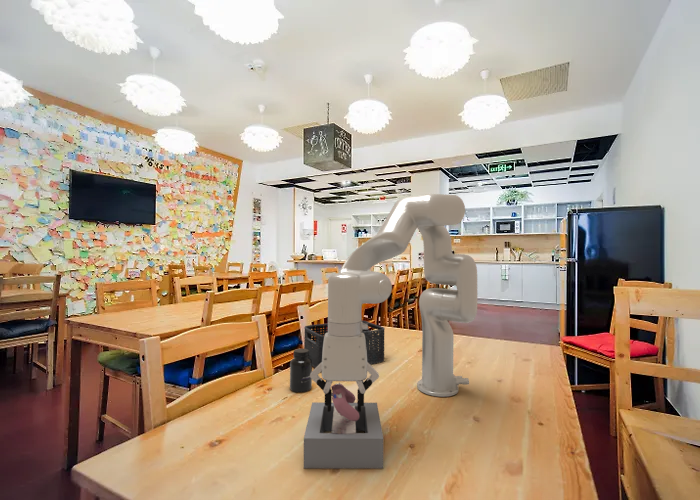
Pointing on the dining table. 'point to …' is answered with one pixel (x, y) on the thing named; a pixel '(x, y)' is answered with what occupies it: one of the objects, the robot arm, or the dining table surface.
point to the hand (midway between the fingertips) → (344, 408)
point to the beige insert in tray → (342, 424)
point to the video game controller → (344, 402)
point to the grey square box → (343, 440)
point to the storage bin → (373, 338)
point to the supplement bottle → (300, 371)
